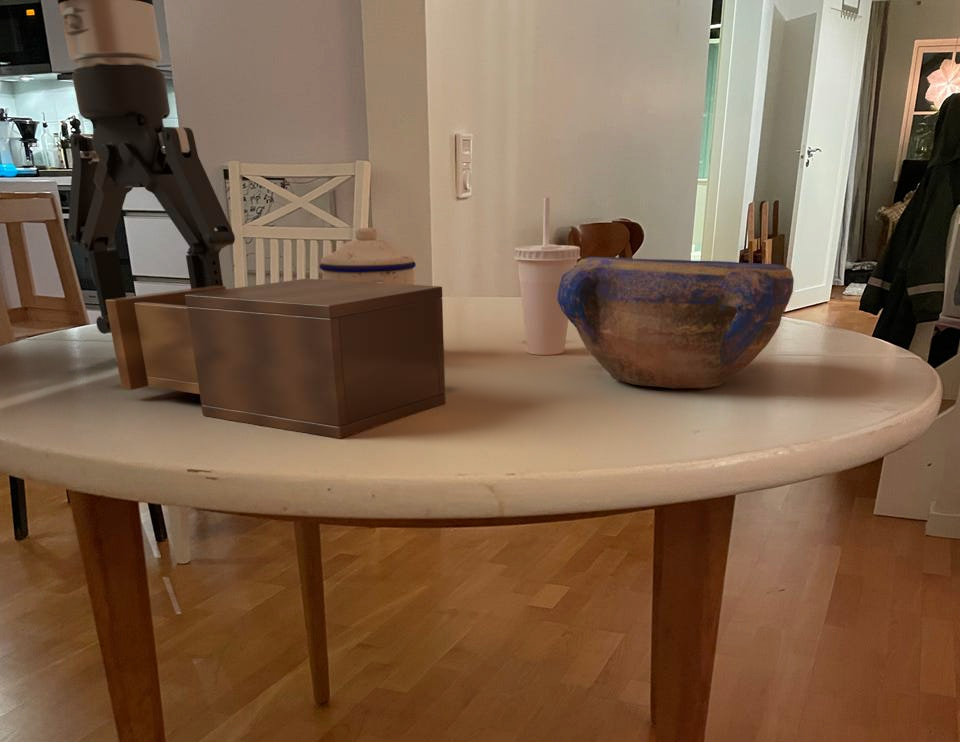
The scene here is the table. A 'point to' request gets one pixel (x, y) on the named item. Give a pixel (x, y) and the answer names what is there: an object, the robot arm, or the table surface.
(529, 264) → the smoothie
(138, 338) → the drawer
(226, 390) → the cabinet
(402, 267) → the teacup with lid
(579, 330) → the bowl
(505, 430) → the table surface
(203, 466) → the table surface
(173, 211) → the robot arm
